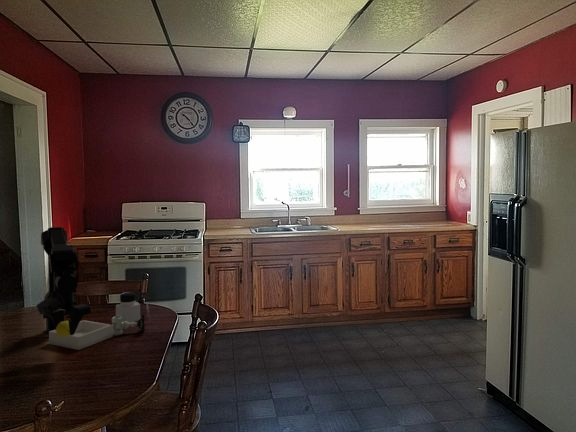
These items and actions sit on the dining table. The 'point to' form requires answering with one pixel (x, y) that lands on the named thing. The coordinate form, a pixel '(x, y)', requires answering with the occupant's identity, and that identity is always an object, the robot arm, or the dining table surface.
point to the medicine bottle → (128, 308)
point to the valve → (125, 324)
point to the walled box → (83, 335)
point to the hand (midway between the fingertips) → (65, 333)
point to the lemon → (63, 329)
